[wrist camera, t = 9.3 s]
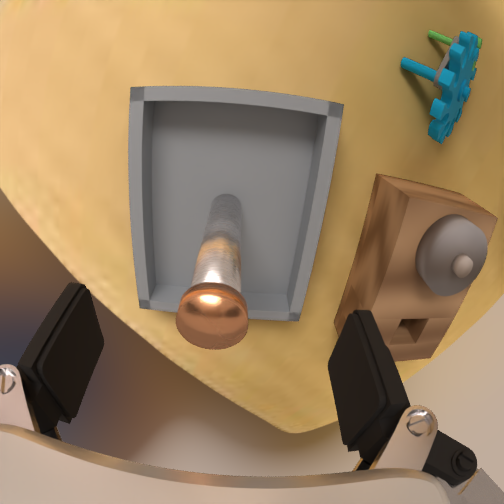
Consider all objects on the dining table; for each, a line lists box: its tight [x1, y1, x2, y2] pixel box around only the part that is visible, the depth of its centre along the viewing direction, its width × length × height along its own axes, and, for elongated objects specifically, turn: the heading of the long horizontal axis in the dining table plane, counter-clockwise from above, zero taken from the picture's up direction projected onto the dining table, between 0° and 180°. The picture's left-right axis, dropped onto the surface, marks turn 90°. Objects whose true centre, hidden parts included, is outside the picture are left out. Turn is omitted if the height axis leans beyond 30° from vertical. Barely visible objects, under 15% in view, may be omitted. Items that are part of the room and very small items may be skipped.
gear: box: [401, 30, 482, 144], centre depth 17 cm, size 11×6×10 cm
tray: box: [128, 86, 344, 321], centre depth 23 cm, size 18×14×4 cm
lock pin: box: [176, 194, 248, 349], centre depth 18 cm, size 3×3×13 cm
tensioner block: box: [334, 174, 498, 361], centre depth 24 cm, size 16×10×9 cm, turn 174°
